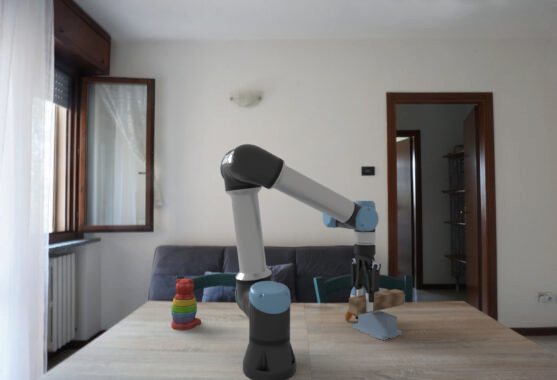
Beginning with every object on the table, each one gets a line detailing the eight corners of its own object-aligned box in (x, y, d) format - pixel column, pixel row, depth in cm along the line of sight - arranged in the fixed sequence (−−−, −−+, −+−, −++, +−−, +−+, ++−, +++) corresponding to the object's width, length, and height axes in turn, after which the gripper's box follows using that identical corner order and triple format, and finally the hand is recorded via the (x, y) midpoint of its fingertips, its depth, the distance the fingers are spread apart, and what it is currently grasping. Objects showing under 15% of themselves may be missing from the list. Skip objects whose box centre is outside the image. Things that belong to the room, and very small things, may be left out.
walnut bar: (356, 315, 123) (356, 300, 123) (348, 312, 126) (348, 297, 127) (404, 304, 135) (403, 291, 135) (395, 302, 139) (395, 289, 139)
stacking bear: (202, 321, 140) (202, 276, 141) (193, 331, 130) (194, 281, 131) (175, 320, 141) (176, 275, 142) (165, 329, 131) (165, 281, 132)
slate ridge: (381, 340, 122) (381, 320, 122) (353, 328, 134) (353, 309, 134) (401, 335, 127) (401, 315, 127) (372, 323, 139) (372, 305, 139)
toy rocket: (376, 326, 139) (373, 290, 137) (351, 333, 137) (346, 296, 135) (365, 314, 149) (361, 280, 147) (341, 320, 147) (337, 286, 145)
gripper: (390, 245, 123) (390, 314, 122) (355, 240, 138) (355, 301, 137) (375, 246, 119) (375, 317, 118) (340, 241, 134) (340, 304, 133)
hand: (364, 309), depth 128 cm, fingers closed on walnut bar, 4 cm apart
